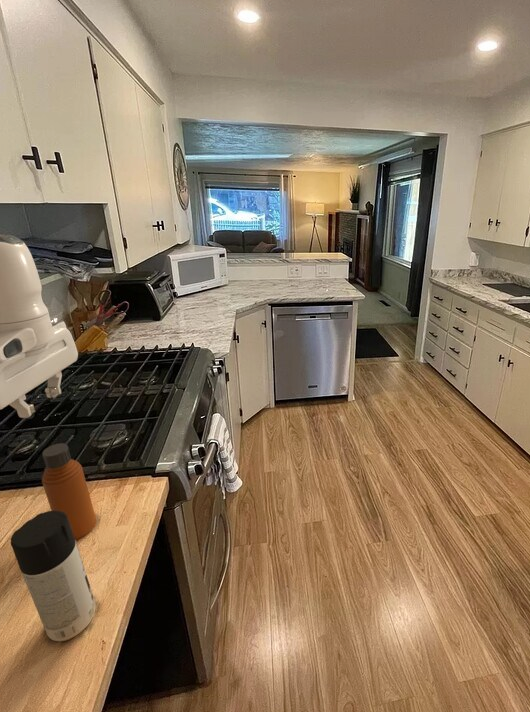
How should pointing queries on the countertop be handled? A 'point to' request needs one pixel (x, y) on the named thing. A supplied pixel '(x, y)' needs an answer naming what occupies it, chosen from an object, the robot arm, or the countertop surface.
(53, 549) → the spray can
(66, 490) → the bottle
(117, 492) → the countertop surface
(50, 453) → the cap
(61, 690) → the countertop surface
